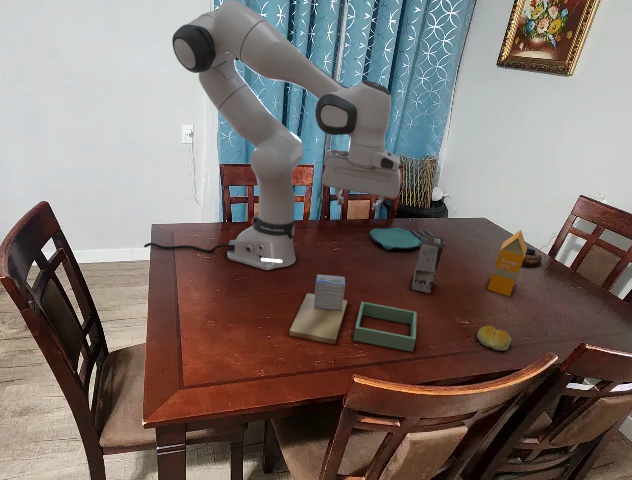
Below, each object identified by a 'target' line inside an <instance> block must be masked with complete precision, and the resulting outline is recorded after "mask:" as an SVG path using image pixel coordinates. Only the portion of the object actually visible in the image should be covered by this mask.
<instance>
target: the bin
mask: <svg viewBox="0 0 632 480" xmlns="http://www.w3.org/2000/svg"><path fill="white" fill-rule="evenodd" d="M417 313H418V311H416V310H415V311H413V310H409V309H404V308H399V307H393V306H387V305H382V304H377V303H373V302H372V303H371V302H366V301H361V303H360V306H359V311H358V315H357V317H356V318H357V319H356V323H355V328H354V332H353V333H354V334H353V337H352V338H353V339H352V341H355V342H358V343H359V342H360V343H365V344H370V345H376V346H381V347H386V348H390V349H396V350H400V351H401V350H402V351H405V352H414V348H415V345H416V340H417ZM362 317H369V318H375V319H380V320H384V321H391V322H396V323H401V324H407V325H410V335H409V336H408V335H404V334H398V333H393V332H387V331H383V330H377V329H373V328H367V327H363V326H362V327H361V322H362Z"/></svg>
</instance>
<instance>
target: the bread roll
mask: <svg viewBox="0 0 632 480" xmlns="http://www.w3.org/2000/svg"><path fill="white" fill-rule="evenodd" d="M476 337H477V339H478V342H479V343H480V344H481V345H483V346H484V347H487V348H491V349H492V350H494V351H498V352H500V351H501V352H504V351H506V350H508V349H509V347H510V345H511V343H512V340H513V339H512V337H511V335H510V334H509V333H508V332H507V331H506V330H503V329H497V328H496V327H495V326H493V325H484V326H482V327H481V328H479V329H478V331H477V334H476Z"/></svg>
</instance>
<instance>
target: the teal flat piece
mask: <svg viewBox="0 0 632 480" xmlns="http://www.w3.org/2000/svg"><path fill="white" fill-rule="evenodd" d="M417 231H418V232H420V233H421V234H422V235H424V234H426V233H427V234H428V235H433V236H435V235H434V234H433V233H432V232H431V231H430V230H429V229H428V228H425V229H424V231H423V230H422V229H421V228H418V229H417ZM412 232H413V233H412ZM425 232H426V233H425ZM421 234H419V233H417V232H415V231H414V229H411V231H409V230H408V229H407V230H406V229H403V228H399V227H379V228H378V227H377V228H373V229H372V230H370V232H369V237H370V238H371V240H372V241H374V242H375V243H376V244H379V245H381V246H382V248H383V249H384V250H386V251H391V250H392V249H396V250H411V249H415V248H420V247H421V244H422V240H423V236H422V235H421ZM443 245H446V243H445V242H444V241H443Z"/></svg>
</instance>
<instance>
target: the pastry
mask: <svg viewBox="0 0 632 480" xmlns="http://www.w3.org/2000/svg"><path fill="white" fill-rule="evenodd" d="M526 247H527V251H526V254H525V258H524V259H523V262H522V266H521V267H522V268H536V267H539V266H540V265H541V263H542V260H543V257H542V255H541V254H540V253H538V252H536V250H535V249H533V248H532V247H530V246H528V245H526Z"/></svg>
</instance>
